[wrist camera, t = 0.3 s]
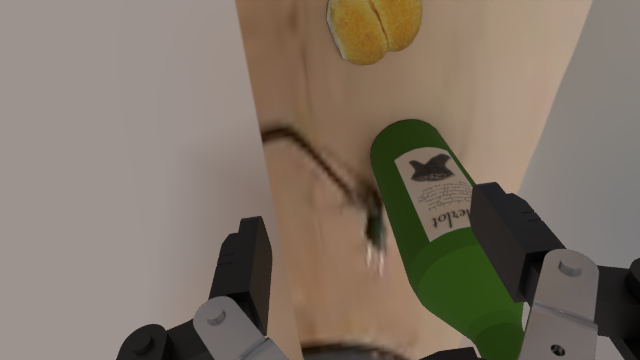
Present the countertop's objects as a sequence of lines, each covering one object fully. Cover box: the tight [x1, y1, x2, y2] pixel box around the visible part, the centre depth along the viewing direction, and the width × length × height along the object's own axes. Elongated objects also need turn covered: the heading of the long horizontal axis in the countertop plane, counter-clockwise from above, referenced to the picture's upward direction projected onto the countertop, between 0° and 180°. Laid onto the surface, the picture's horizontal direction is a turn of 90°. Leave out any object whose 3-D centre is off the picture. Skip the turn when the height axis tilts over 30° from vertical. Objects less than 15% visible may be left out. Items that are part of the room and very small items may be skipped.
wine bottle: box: [370, 120, 524, 360], centre depth 32 cm, size 9×9×33 cm
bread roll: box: [327, 0, 422, 65], centre depth 35 cm, size 8×9×4 cm
